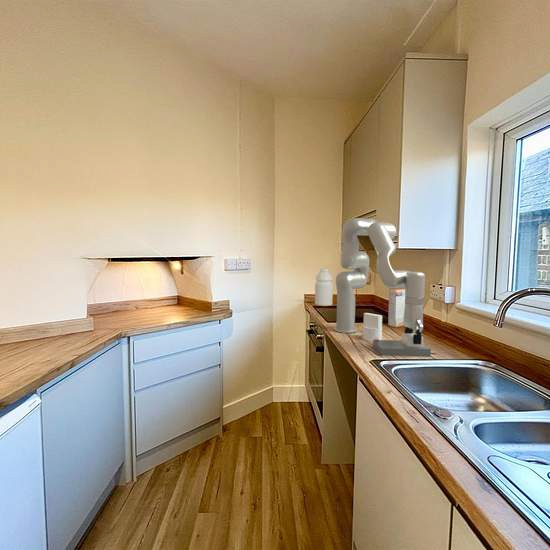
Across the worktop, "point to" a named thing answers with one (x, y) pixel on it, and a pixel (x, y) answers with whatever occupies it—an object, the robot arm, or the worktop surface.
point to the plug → (410, 340)
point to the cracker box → (396, 307)
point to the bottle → (324, 288)
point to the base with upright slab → (372, 327)
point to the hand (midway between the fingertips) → (412, 340)
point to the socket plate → (399, 348)
